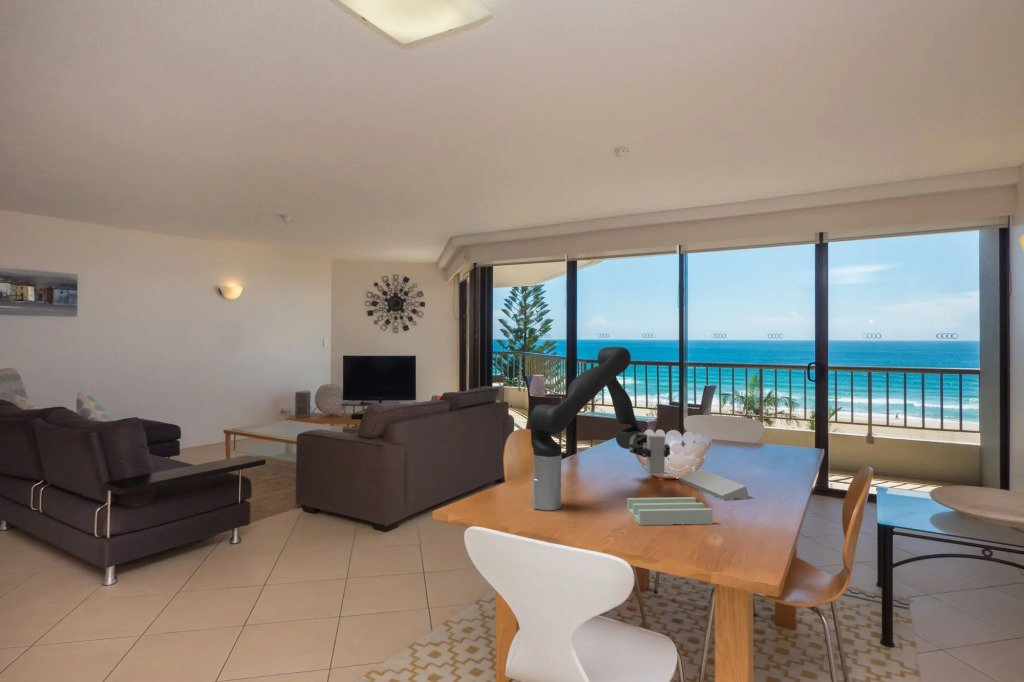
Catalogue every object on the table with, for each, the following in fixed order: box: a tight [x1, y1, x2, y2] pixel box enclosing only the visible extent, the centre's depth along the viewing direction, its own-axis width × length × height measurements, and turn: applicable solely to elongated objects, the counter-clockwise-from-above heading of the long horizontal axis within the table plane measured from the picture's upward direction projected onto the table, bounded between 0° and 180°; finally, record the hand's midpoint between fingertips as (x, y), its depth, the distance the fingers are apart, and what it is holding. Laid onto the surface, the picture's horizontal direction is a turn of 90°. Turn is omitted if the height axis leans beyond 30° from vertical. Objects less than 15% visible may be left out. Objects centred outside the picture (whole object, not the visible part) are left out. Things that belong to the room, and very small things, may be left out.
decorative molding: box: [679, 468, 750, 501], centre depth 208 cm, size 34×5×10 cm
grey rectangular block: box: [646, 434, 666, 474], centre depth 183 cm, size 5×3×12 cm, turn 94°
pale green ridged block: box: [626, 496, 713, 526], centre depth 171 cm, size 22×14×4 cm, turn 94°
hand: (658, 453), depth 181 cm, fingers closed on grey rectangular block, 5 cm apart
